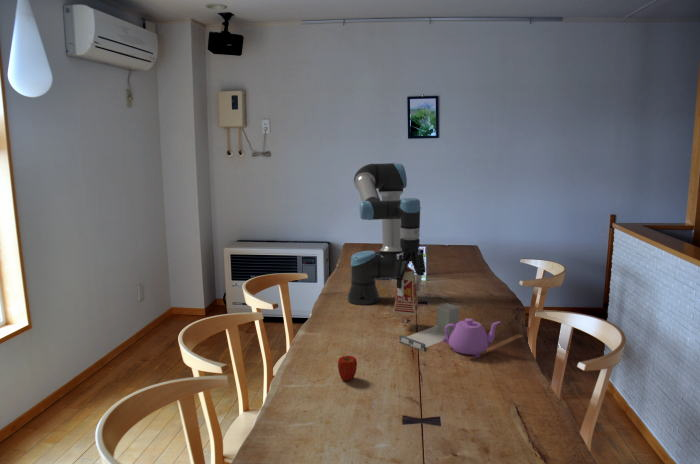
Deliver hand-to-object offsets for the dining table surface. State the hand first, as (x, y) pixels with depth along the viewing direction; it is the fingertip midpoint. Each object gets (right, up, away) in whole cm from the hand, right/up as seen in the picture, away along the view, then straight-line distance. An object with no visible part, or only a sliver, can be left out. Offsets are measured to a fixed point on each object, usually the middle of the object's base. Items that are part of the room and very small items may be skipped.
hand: (409, 293), depth 214 cm
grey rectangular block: (+15, -15, -2) cm, 21 cm away
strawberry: (-24, -24, -40) cm, 53 cm away
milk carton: (-1, -7, +3) cm, 8 cm away
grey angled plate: (+8, -17, -6) cm, 20 cm away
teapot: (+20, -19, -20) cm, 34 cm away
